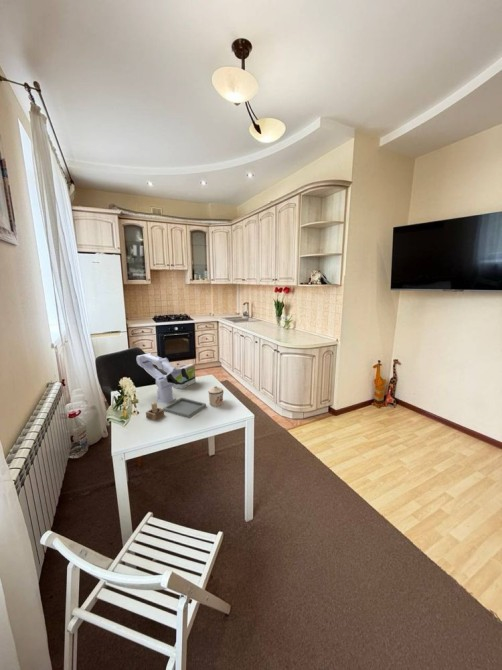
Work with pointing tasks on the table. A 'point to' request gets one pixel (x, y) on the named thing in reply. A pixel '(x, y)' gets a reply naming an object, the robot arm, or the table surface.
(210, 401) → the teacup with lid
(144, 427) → the table surface
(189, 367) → the tea box
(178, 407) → the tray
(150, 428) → the table surface
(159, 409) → the wooden roll holder
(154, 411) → the dowel
